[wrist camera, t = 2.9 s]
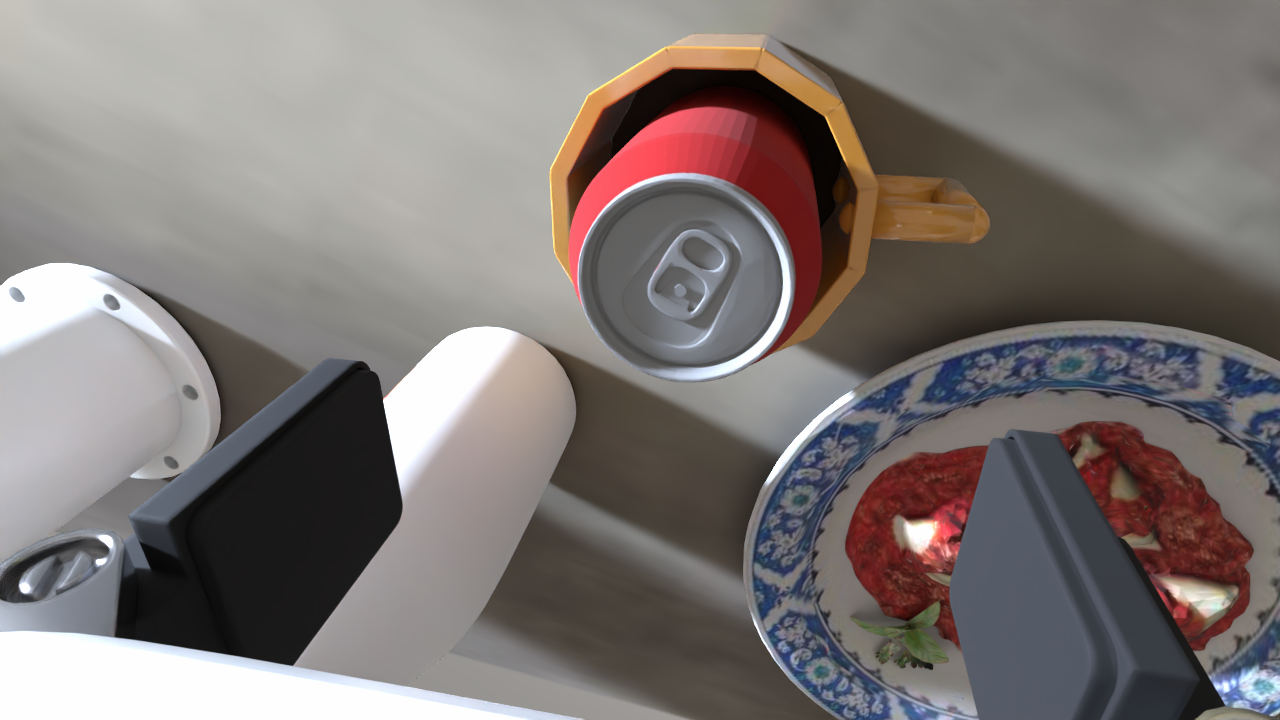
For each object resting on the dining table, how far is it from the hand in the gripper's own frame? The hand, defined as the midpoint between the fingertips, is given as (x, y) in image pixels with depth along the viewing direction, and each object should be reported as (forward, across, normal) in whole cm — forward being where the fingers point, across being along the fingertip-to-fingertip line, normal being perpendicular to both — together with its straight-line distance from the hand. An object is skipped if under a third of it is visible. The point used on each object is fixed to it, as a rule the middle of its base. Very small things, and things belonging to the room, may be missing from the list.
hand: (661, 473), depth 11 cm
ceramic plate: (+20, -14, +17) cm, 29 cm away
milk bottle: (+19, +11, +11) cm, 25 cm away
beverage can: (+19, +1, 0) cm, 19 cm away
